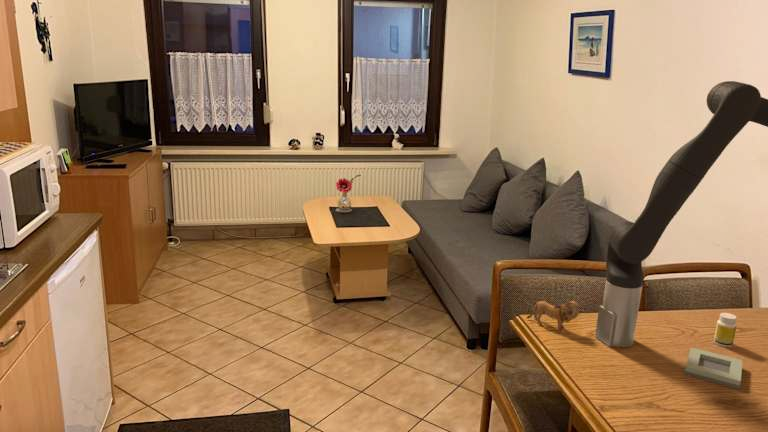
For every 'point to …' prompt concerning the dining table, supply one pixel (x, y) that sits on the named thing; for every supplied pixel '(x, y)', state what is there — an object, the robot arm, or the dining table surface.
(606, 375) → the dining table surface
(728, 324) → the supplement bottle
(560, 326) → the lion figurine
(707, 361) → the recess plate
